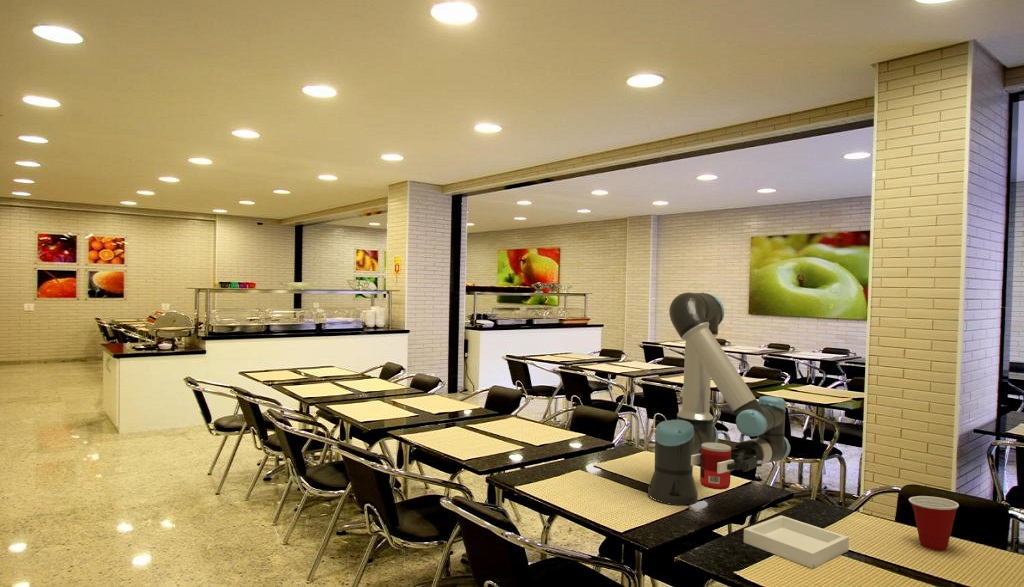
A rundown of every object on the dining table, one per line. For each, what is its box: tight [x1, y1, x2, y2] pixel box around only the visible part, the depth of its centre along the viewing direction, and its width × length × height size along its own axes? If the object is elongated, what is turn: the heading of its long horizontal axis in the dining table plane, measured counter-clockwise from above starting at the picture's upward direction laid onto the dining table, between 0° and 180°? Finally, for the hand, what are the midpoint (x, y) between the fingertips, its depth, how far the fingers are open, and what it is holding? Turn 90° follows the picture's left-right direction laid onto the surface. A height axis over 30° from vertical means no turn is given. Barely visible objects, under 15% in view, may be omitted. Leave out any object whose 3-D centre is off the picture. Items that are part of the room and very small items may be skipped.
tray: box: [743, 515, 850, 569], centre depth 156 cm, size 18×18×4 cm
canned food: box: [699, 442, 732, 490], centre depth 169 cm, size 8×8×11 cm
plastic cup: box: [908, 495, 960, 552], centre depth 159 cm, size 11×11×12 cm
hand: (705, 464), depth 166 cm, fingers closed on canned food, 8 cm apart
